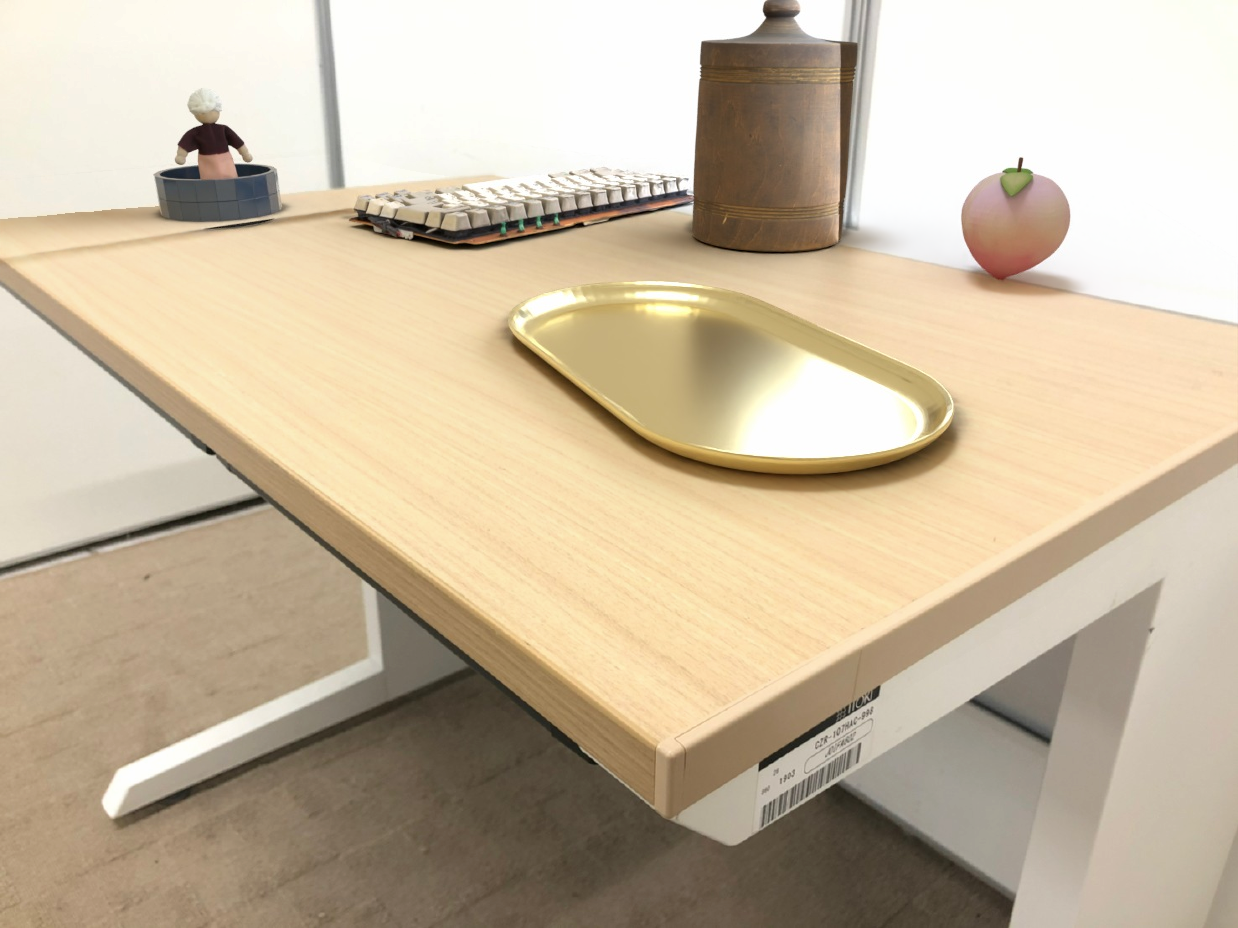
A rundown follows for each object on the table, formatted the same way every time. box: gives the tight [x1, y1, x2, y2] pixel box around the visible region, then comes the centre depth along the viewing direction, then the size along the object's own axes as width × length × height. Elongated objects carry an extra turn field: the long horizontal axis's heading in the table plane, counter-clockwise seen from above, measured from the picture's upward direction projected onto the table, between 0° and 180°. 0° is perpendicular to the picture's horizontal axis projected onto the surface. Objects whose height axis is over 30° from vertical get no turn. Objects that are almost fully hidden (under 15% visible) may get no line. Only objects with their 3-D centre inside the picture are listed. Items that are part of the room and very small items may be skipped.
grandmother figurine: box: [174, 87, 254, 179], centre depth 105 cm, size 8×4×13 cm, turn 134°
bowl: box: [153, 162, 283, 230], centre depth 107 cm, size 12×12×5 cm
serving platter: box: [507, 280, 955, 475], centre depth 62 cm, size 19×35×2 cm, turn 25°
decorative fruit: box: [960, 156, 1071, 281], centre depth 82 cm, size 9×8×10 cm
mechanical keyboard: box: [348, 166, 694, 245], centre depth 110 cm, size 38×19×3 cm, turn 139°
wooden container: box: [691, 0, 859, 253], centre depth 95 cm, size 15×15×22 cm
